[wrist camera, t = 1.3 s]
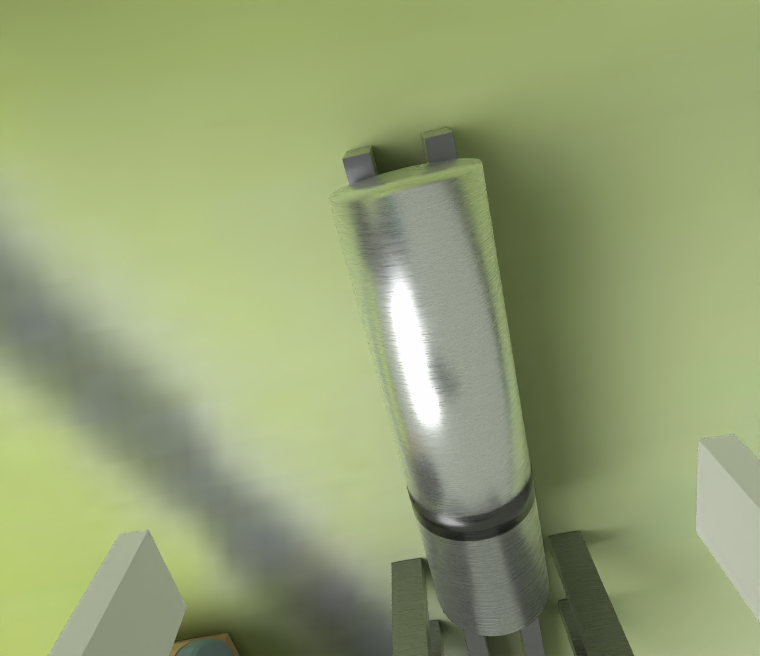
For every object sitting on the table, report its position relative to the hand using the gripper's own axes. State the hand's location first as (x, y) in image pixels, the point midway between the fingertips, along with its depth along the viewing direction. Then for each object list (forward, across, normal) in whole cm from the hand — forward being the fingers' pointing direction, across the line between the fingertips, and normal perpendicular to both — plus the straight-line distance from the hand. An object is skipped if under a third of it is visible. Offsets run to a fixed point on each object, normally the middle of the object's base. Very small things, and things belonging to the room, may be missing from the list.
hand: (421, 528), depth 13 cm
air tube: (+15, +2, -5) cm, 15 cm away
